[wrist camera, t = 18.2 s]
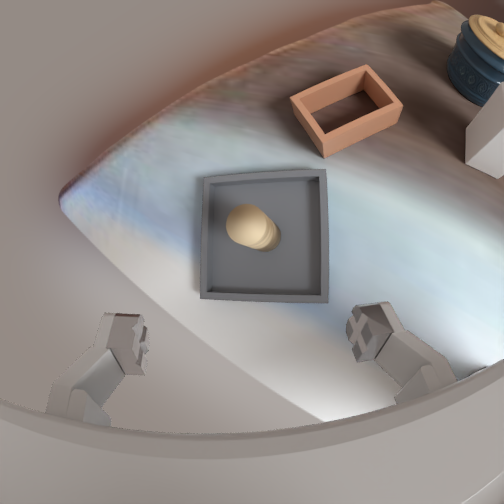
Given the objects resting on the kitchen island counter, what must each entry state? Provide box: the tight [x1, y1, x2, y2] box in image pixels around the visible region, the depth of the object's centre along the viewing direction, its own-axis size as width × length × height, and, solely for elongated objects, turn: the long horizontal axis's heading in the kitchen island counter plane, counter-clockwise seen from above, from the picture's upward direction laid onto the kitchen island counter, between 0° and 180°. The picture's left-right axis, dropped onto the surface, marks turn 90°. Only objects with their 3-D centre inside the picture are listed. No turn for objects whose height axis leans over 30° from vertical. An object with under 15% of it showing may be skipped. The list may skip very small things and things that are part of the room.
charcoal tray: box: [200, 169, 329, 303], centre depth 40 cm, size 18×18×3 cm
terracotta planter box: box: [290, 64, 403, 158], centre depth 37 cm, size 9×14×6 cm, turn 116°
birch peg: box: [226, 204, 281, 252], centre depth 36 cm, size 4×4×10 cm
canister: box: [447, 15, 504, 107], centre depth 24 cm, size 13×13×18 cm
